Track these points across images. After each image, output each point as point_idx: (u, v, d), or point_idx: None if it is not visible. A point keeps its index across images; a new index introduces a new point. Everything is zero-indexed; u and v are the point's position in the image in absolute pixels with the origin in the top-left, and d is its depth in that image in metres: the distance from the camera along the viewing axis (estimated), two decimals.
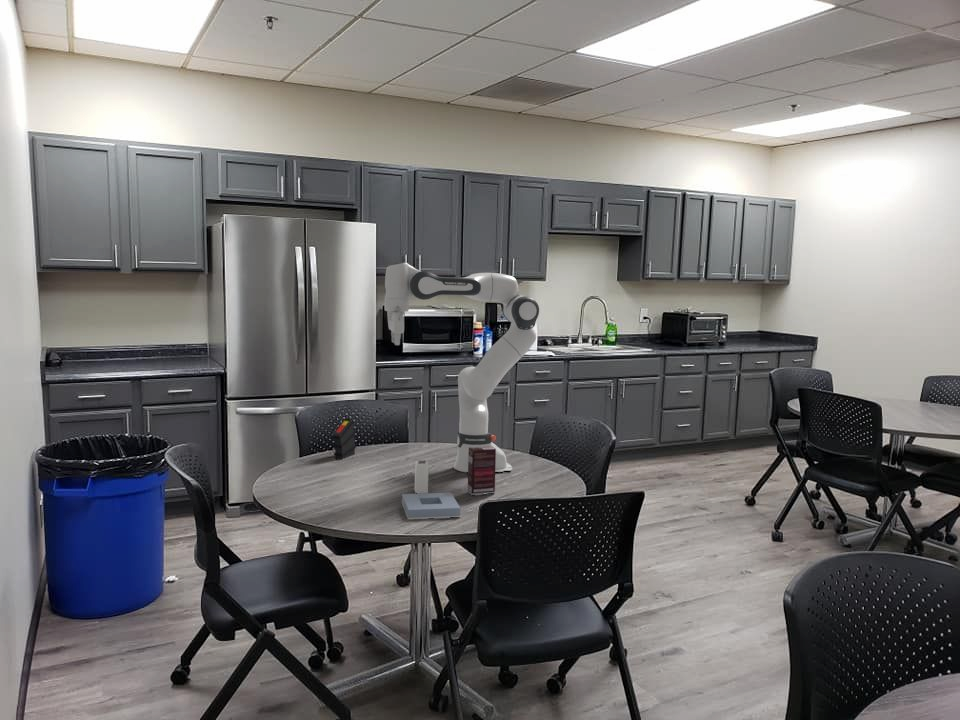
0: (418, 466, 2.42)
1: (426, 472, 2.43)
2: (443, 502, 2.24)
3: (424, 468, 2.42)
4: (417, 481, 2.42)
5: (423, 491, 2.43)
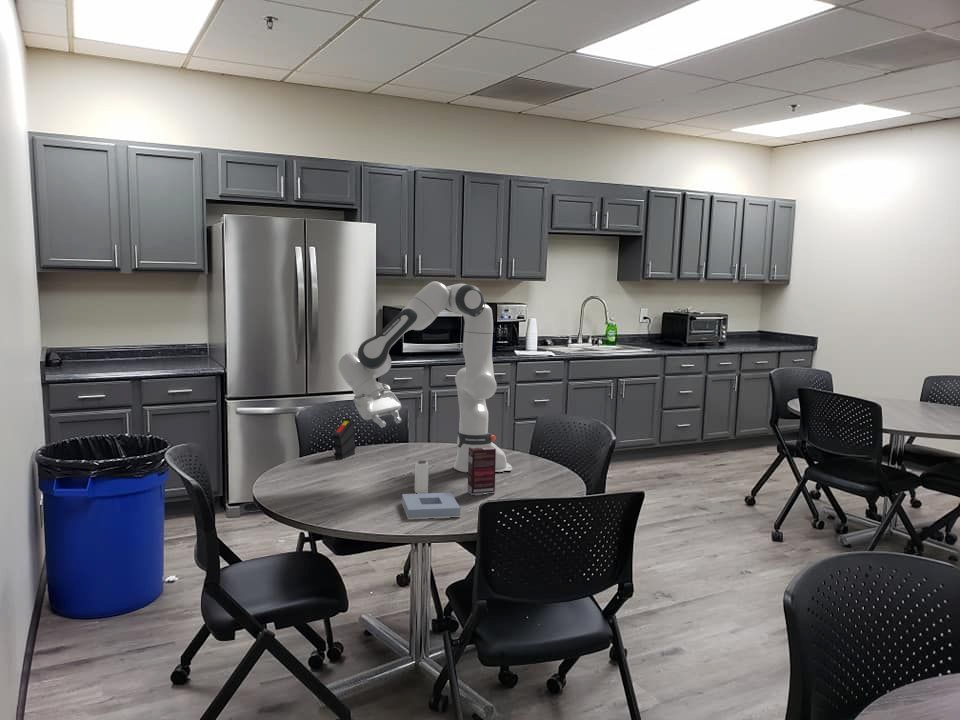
0: (418, 466, 2.42)
1: (426, 472, 2.43)
2: (443, 502, 2.24)
3: (424, 468, 2.42)
4: (417, 481, 2.42)
5: (423, 491, 2.43)
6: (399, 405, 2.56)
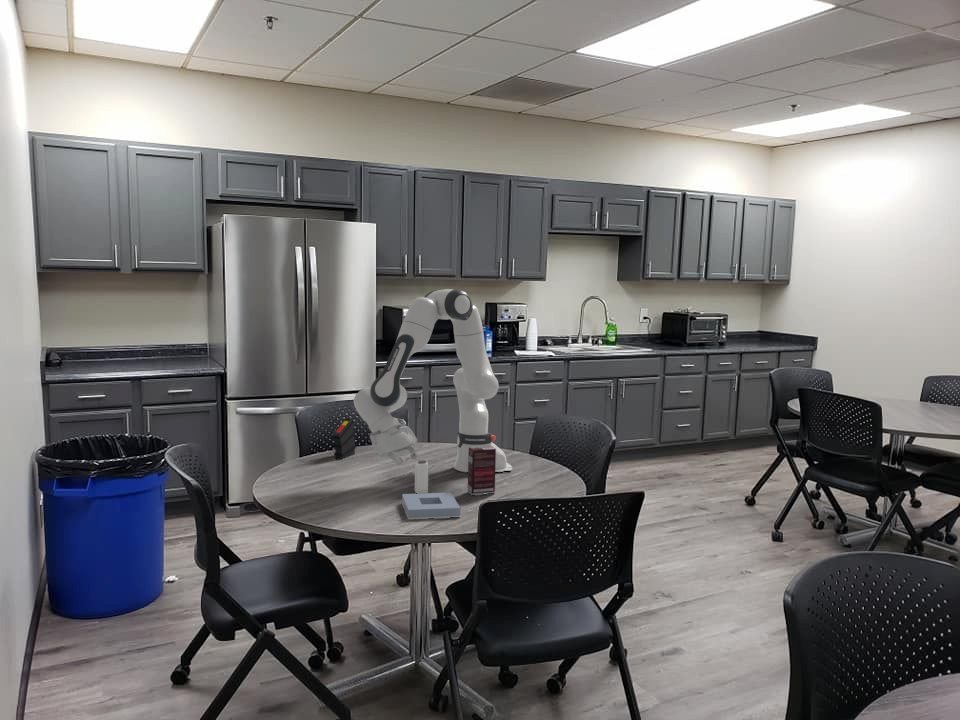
0: (418, 466, 2.42)
1: (426, 472, 2.43)
2: (443, 502, 2.24)
3: (424, 468, 2.42)
4: (417, 481, 2.42)
5: (423, 491, 2.43)
6: (415, 440, 2.54)
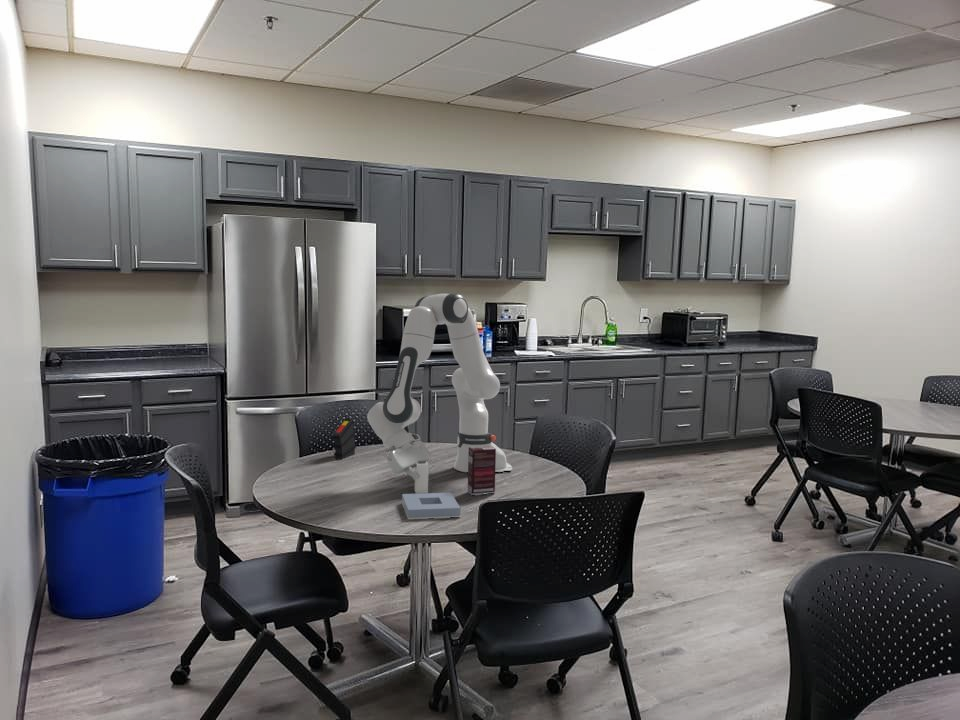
0: (418, 466, 2.42)
1: (426, 472, 2.43)
2: (443, 502, 2.24)
3: (424, 468, 2.42)
4: (417, 481, 2.42)
5: (423, 491, 2.43)
6: (429, 455, 2.52)
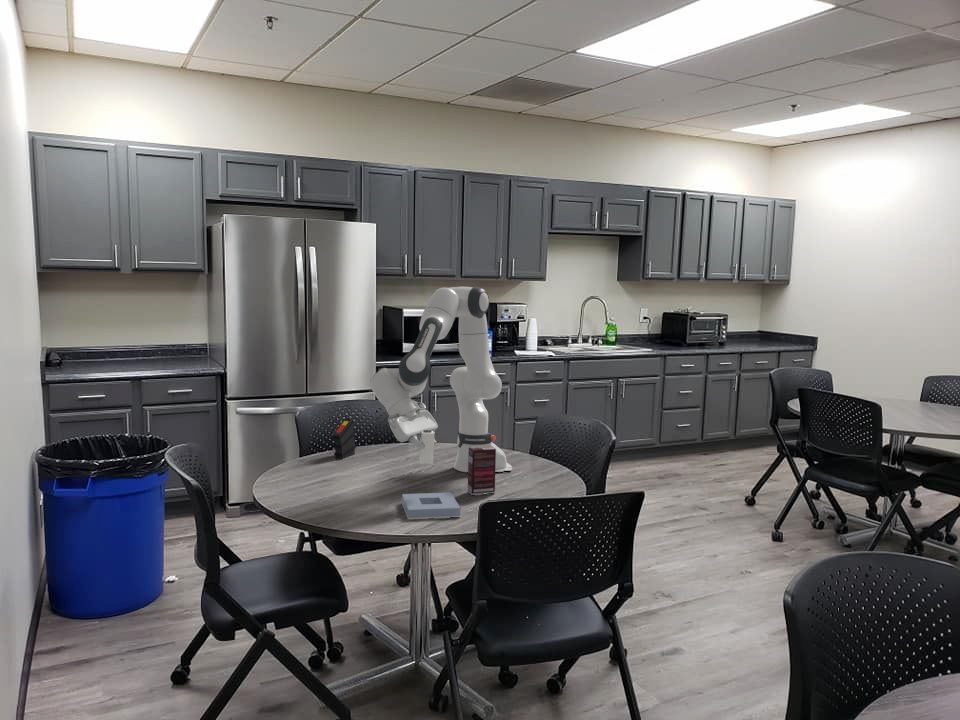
0: (423, 435, 2.27)
1: (432, 442, 2.28)
2: (443, 502, 2.24)
3: (430, 437, 2.28)
4: (422, 451, 2.28)
5: (428, 462, 2.29)
6: (435, 425, 2.38)
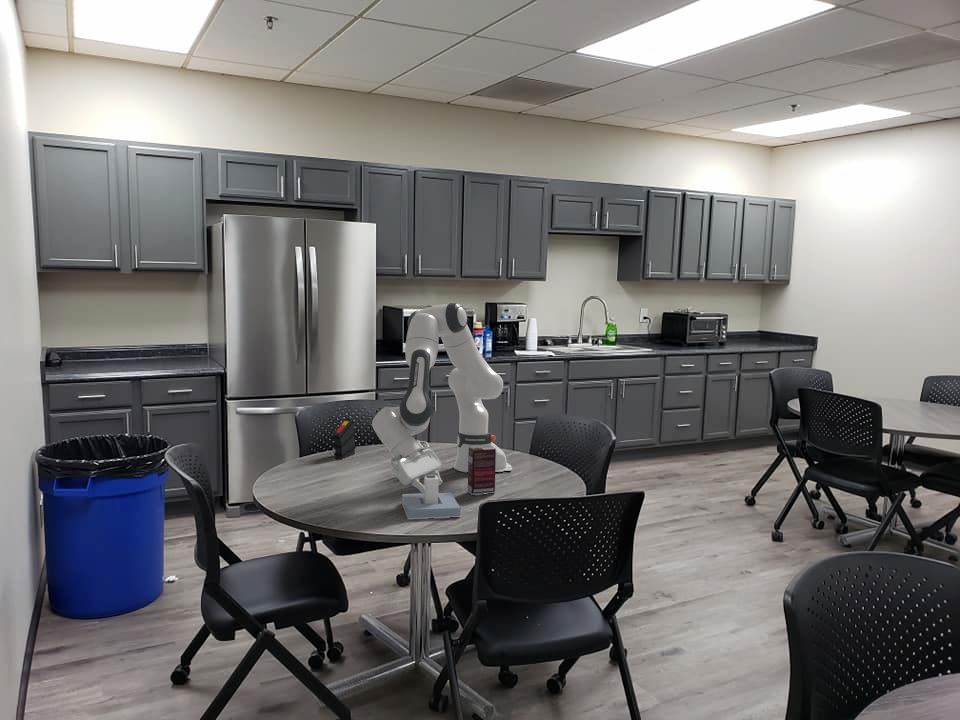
0: (427, 481, 2.23)
1: (436, 487, 2.23)
2: (443, 502, 2.24)
3: (434, 483, 2.23)
4: (426, 497, 2.23)
5: None
6: (439, 464, 2.33)
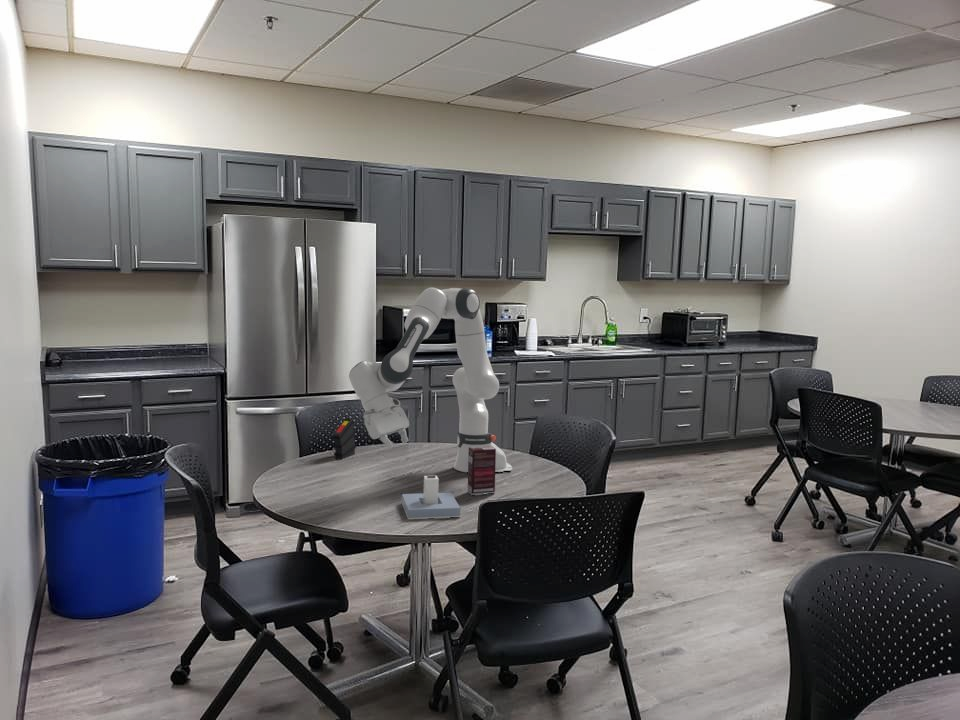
0: (427, 481, 2.22)
1: (436, 487, 2.23)
2: (443, 502, 2.24)
3: (434, 483, 2.23)
4: (426, 497, 2.23)
5: None
6: (407, 423, 2.41)
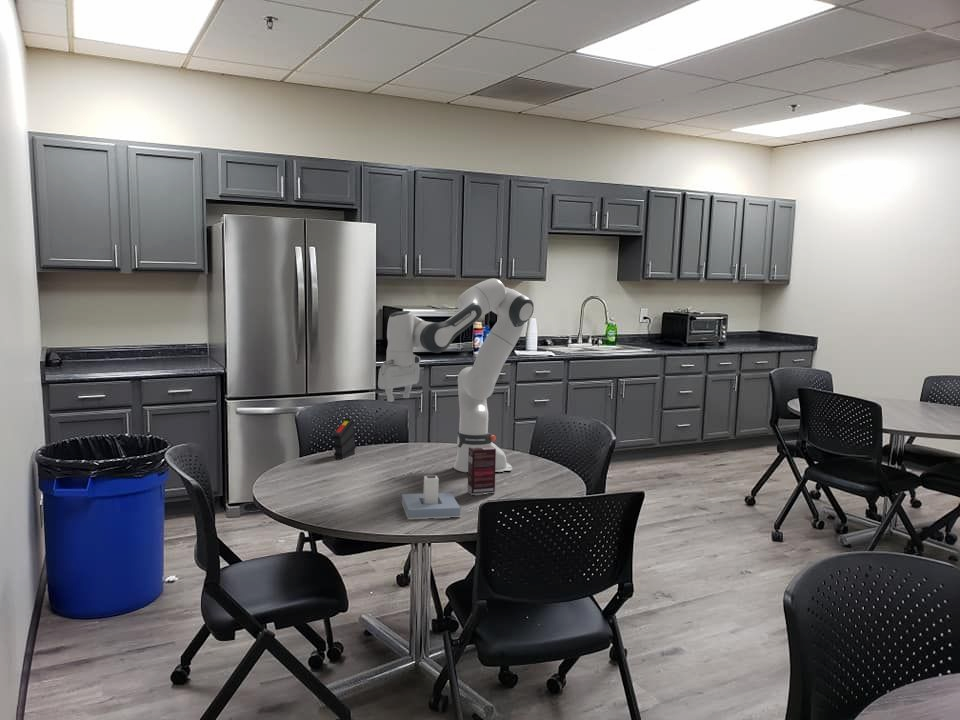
0: (427, 481, 2.22)
1: (436, 487, 2.23)
2: (443, 502, 2.24)
3: (434, 483, 2.23)
4: (426, 497, 2.23)
5: None
6: (416, 381, 2.50)
